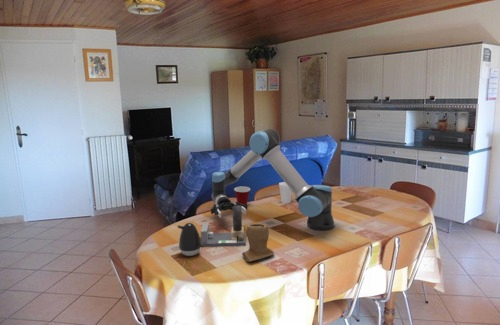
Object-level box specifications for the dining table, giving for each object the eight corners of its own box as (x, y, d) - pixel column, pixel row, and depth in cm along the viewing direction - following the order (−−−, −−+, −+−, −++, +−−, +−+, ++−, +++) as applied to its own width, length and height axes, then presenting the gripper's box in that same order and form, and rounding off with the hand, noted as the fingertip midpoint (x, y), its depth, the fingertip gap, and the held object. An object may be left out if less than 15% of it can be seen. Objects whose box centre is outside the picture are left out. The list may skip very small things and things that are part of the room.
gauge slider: (243, 233, 195) (242, 204, 192) (243, 242, 184) (243, 211, 181) (232, 234, 195) (231, 204, 192) (231, 243, 183) (230, 211, 181)
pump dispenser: (180, 250, 181) (178, 220, 178) (201, 248, 182) (200, 219, 179) (177, 259, 171) (176, 227, 168) (200, 257, 172) (199, 226, 169)
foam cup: (292, 204, 251) (292, 185, 249) (278, 203, 253) (278, 185, 251) (293, 200, 260) (293, 182, 258) (280, 199, 262) (280, 181, 260)
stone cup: (262, 248, 182) (262, 218, 179) (277, 256, 172) (277, 225, 169) (235, 256, 173) (234, 225, 171) (249, 265, 164) (249, 232, 161)
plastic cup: (238, 209, 243) (238, 191, 241) (231, 205, 252) (231, 187, 250) (253, 206, 248) (253, 189, 245) (246, 202, 257) (245, 185, 255)
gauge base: (245, 234, 199) (245, 221, 197) (245, 245, 185) (245, 231, 184) (203, 236, 198) (203, 222, 197) (201, 246, 184) (200, 232, 183)
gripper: (244, 206, 219) (256, 217, 199) (201, 211, 212) (209, 223, 192) (243, 194, 218) (255, 204, 198) (201, 198, 210) (209, 209, 190)
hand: (233, 213), depth 195 cm, fingers open, 13 cm apart
